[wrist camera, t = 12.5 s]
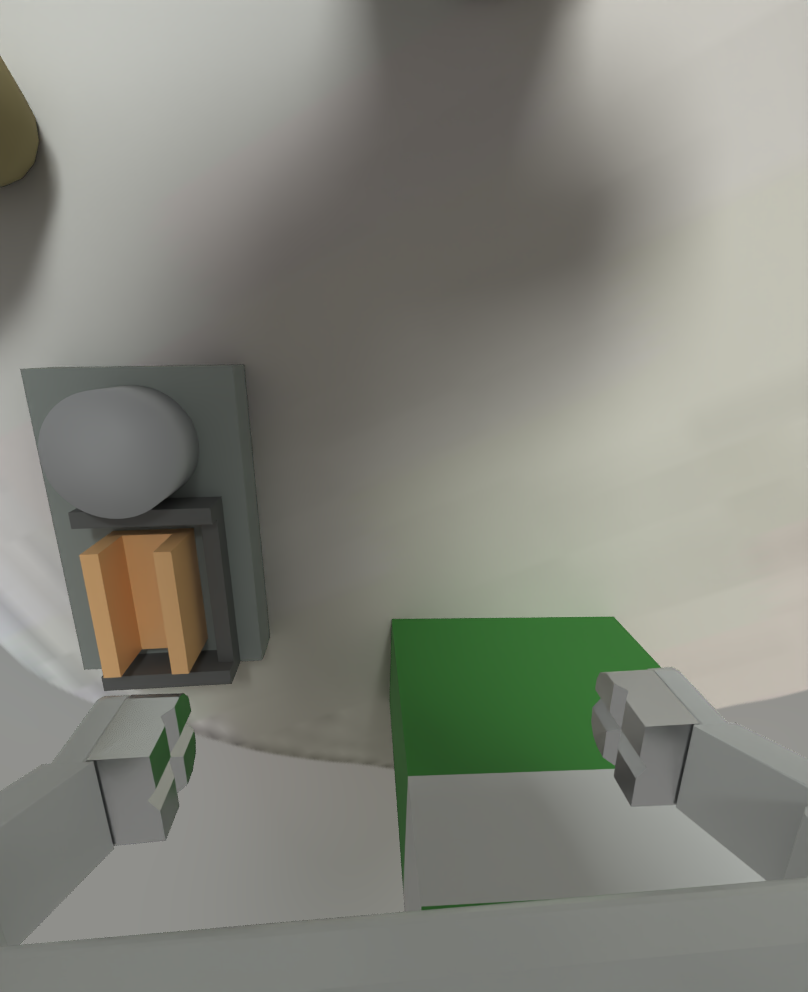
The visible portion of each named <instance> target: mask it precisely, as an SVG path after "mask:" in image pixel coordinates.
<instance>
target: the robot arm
mask: <svg viewBox="0 0 808 992" xmlns="http://www.w3.org/2000/svg"><path fill="white" fill-rule="evenodd" d="M595 690H596V691H597V693H598V695H599V696H600V698H601V699H600V700H599V701H598V702H597V703H596V704H595V705H594V706H593V707H592V717H591V724H592V731H593V737H594V740H595V742H596V745H597V748H598V750H599V751H600V753H601V755H602V757H603V758H604V759H606V760H607V761H609V762H610V763H612V764H613V765H615V771H614V778H615V780H616V782H617V783H618V785H619V787H620V789H621V790H622V792H623V794H624V795H625V797H626V799H627V801H628V802H629V804H630V806H631V807H640V806H664V805H676V808H677V809H678V810H680V811H681V812H682V813H683V814H685V815H686V816H687V817H688V818H689V819H691V820H692V821H693V822H694V823H696V824H697V825H698V826H699V827H701V828H702V829H703V830H704V831H706V832H707V833H708V834H709V835H710V836H712V837H713V838H714V839H715V840H717V841H718V842H719V843H720V844H722V845H723V846H724V847H725V848H727V849H728V850H729V851H730V852H732V853H733V854H734V855H735V856H736V857H738V858H739V859H740V860H741V861H743V862H744V863H745V864H746V865H748V866H749V867H750V868H751V869H753V870H754V871H755V872H756V873H757V874H759V875H760V876H761V877H762V878H764V879H765V880H766V881H759V882H748V883H736V884H724V885H713V886H701V887H689V888H678V889H666V890H654V891H643V892H631V893H619V894H607V895H595V896H584V897H572V898H560V899H548V900H537V901H525V902H513V903H501V904H490V905H478V906H466V907H455V908H443V909H431V910H420V911H408V912H397V913H385V914H373V915H361V916H350V917H338V918H326V919H315V920H303V921H291V922H280V923H269V924H258V925H257V924H256V925H245V926H234V927H222V928H210V929H198V930H188V931H176V932H163V933H152V934H140V935H129V936H117V937H105V938H93V939H82V940H71V941H58V942H47V943H35V944H23V945H20V944H21V943H22V942H23V941H24V940H25V939H26V938H27V937H28V936H29V935H30V934H31V933H32V932H33V931H34V930H35V929H36V928H37V927H38V926H39V925H40V923H42V922H43V920H45V918H46V917H48V915H50V913H51V912H52V911H53V910H54V909H55V908H56V907H57V906H58V905H59V904H60V903H61V902H62V901H63V900H64V899H65V898H66V897H67V896H68V895H69V894H70V893H71V892H72V891H73V890H74V889H75V888H76V887H77V886H78V885H79V884H80V883H81V882H82V881H83V880H84V879H85V878H86V877H87V876H88V875H89V874H90V873H91V872H92V871H93V870H94V869H95V867H97V866H98V865H99V864H100V863H101V862H102V861H103V860H104V858H105V857H106V856H107V855H108V854H109V853H110V852H111V851H112V850H113V849H114V846H117V845H126V844H136V843H147V842H156V841H165V840H166V838H167V836H168V833H169V830H170V828H171V826H172V823H173V821H174V818H175V815H176V813H177V810H178V808H179V802H178V796H177V793H178V792H179V791H180V790H182V789H183V788H184V787H185V786H186V785H187V784H188V782H189V779H190V776H191V773H192V771H193V765H194V759H195V754H196V753H195V752H196V745H195V744H196V742H195V741H196V740H195V733H194V730H193V729H192V728H191V727H190V726H189V725H188V724H187V723H186V721H187V719H188V717H189V715H190V712H191V708H190V703H189V698H188V696H187V695H185V694H184V693H182V694H148V695H131V696H129V695H124V696H104V697H102V698H100V699H99V700H97V701H96V703H95V704H94V705H93V707H92V708H91V709H90V711H89V712H88V714H87V715H86V716H85V718H84V719H83V720H82V722H81V723H80V725H79V726H78V728H77V729H76V730H75V732H74V733H73V734H72V736H71V737H70V738H69V740H68V741H67V743H66V744H65V745H64V747H63V748H62V750H61V751H60V752H59V754H58V755H57V756H56V758H55V759H54V760H53V762H52V763H51V764H43V765H40V766H39V767H37V768H36V769H34V770H33V771H31V772H29V773H28V774H26V775H25V776H23V777H22V778H20V779H18V780H17V781H15V782H14V783H12V784H10V785H9V786H7V787H6V788H4V789H3V790H1V791H0V992H808V758H806V757H804V756H802V755H800V754H798V753H796V752H794V751H792V750H790V749H788V748H786V747H784V746H782V745H780V744H778V743H776V742H774V741H772V740H770V739H768V738H766V737H764V736H762V735H760V734H758V733H756V732H754V731H752V730H750V729H748V728H746V727H744V726H742V725H740V724H738V723H736V722H735V723H728V722H727V721H726V720H725V719H724V718H723V717H722V716H721V715H720V714H719V713H718V711H717V710H716V709H715V708H714V707H713V706H712V705H711V704H710V703H709V702H708V701H707V700H706V699H705V698H704V697H703V696H702V694H701V693H700V692H699V691H698V690H697V689H696V688H695V687H694V686H693V685H692V684H691V683H690V682H689V681H688V680H687V679H686V678H685V676H684V675H683V674H682V673H681V672H680V671H679V670H677V669H675V668H673V667H664V668H652V669H647V670H632V671H614V672H600V673H599V675H598V677H597V680H596V686H595Z"/></svg>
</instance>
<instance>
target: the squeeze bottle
mask: <svg viewBox="0 0 808 992" xmlns="http://www.w3.org/2000/svg"><path fill="white" fill-rule="evenodd" d="M38 144H39V138H38V132H37V125H36V119H35V116H34V114H33V113H32V111H31V109H30V107H29V105H28V103H27V101H26V99H25V97H24V95H23V94H22V92H21V90H20V88H19V87H18V85H17V83H16V82H15V80H14V78H13V77H12V75H11V73H10V71H9V70H8V68H7V66H6V65H5V63H4V61H3V60H2V58H1V56H0V187H1V186H6V185H8V184H10V183H13V182H15V181H17V180H20V179H22V178H23V176H24V175H25V174H26V173H27V171H28V170H29V169H30V168H31V166H32V165H33V164H34V162H35V158H36V153H37V149H38Z"/></svg>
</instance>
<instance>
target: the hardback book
mask: <svg viewBox="0 0 808 992" xmlns="http://www.w3.org/2000/svg"><path fill="white" fill-rule="evenodd" d="M652 668H661V667H660V666H659V665H658V664H657V663H656V662H655V660H654V659H653V658H652V657H651V656H650V655H649V654H648V653H647V652H646V651H645V650H644V649H643V648H642V647H641V646H640V644H639V643H638V642H637V641H636V640H635V639H634V638H633V637H632V636H631V635H630V634H629V633H628V632H627V631H626V630H625V628H624V627H623V626H622V625H621V624H620V623H619V622H618V621H617V620H616V619H615V618H614V617H547V618H451V619H392V630H391V667H390V714H391V728H392V742H393V756H394V770H395V783H396V796H397V811H398V825H399V839H400V852H401V866H402V879H403V894H404V907H405V912H408V911H420V910H431V909H443V908H455V907H466V906H478V905H490V904H501V903H513V902H525V901H537V900H548V899H560V898H572V897H584V896H595V895H607V894H619V893H631V892H643V891H654V890H666V889H678V888H689V887H701V886H713V885H724V884H736V883H748V882H759V881H766V880H765V879H764V878H762V877H761V876H760V875H759V874H757V873H756V872H755V871H754V870H753V869H751V868H750V867H749V866H748V865H746V864H745V863H744V862H743V861H741V860H740V859H739V858H738V857H736V856H735V855H734V854H733V853H732V852H730V851H729V850H728V849H727V848H725V847H724V846H723V845H722V844H720V843H719V842H718V841H717V840H715V839H714V838H713V837H712V836H710V835H709V834H708V833H707V832H706V831H704V830H703V829H702V828H701V827H699V826H698V825H697V824H696V823H694V822H693V821H692V820H691V819H689V818H688V817H687V816H686V815H685V814H683V813H682V812H681V811H680V810H678V809H677V808H676V805H664V806H640V807H631V806H630V804H629V802H628V801H627V799H626V797H625V795H624V794H623V792H622V790H621V789H620V787H619V785H618V783H617V782H616V780H615V778H614V771H615V765H613V764H612V763H610V762H609V761H607V760H606V759H604V758H603V757H602V755H601V753H600V751H599V750H598V748H597V745H596V742H595V740H594V737H593V731H592V724H591V717H592V707H593V706H594V705H595V704H596V703H597V702H598V701H599V700H600V699H601V698H600V696H599V695H598V693H597V691H596V690H595V686H596V680H597V677H598V675H599V673H600V672H614V671H632V670H647V669H652Z"/></svg>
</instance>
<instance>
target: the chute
mask: <svg viewBox="0 0 808 992" xmlns="http://www.w3.org/2000/svg"><path fill="white" fill-rule="evenodd" d="M79 557H80V561H81V566H82V571H83V576H84V581H85V586H86V591H87V596H88V601H89V606H90V611H91V616H92V621H93V626H94V631H95V636H96V641H97V646H98V651H99V656H100V661H101V666H102V671H103V676H104V678H115V677H121V676H122V675H123V674H124V672H125V671H126V670H127V668H128V667H129V666H130V664H131V663H132V662H133V660H134V659H135V658H136V656H137V655H138V654H139V652H140V651H141V650H142V649H157V648H168V652H169V659H170V665H171V671H172V674H189V672H190V670H191V669H192V667H193V665H194V663H195V661H196V659H197V658H198V656H199V654H200V652H201V650H202V648H203V647H204V645H205V643H206V641H207V639H208V633H207V626H206V618H205V610H204V603H203V595H202V588H201V580H200V572H199V565H198V557H197V549H196V542H195V534H194V528H181V529H151V530H121V531H112V532H111V533H109V534H108V535H106V536H105V537H104V538H102V539H101V540H99V541H98V542H97V543H95V544H94V545H92V546H91V547H90V548H88V549H87V550H85V551H84V552H83V553H81V554H80V555H79Z"/></svg>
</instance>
